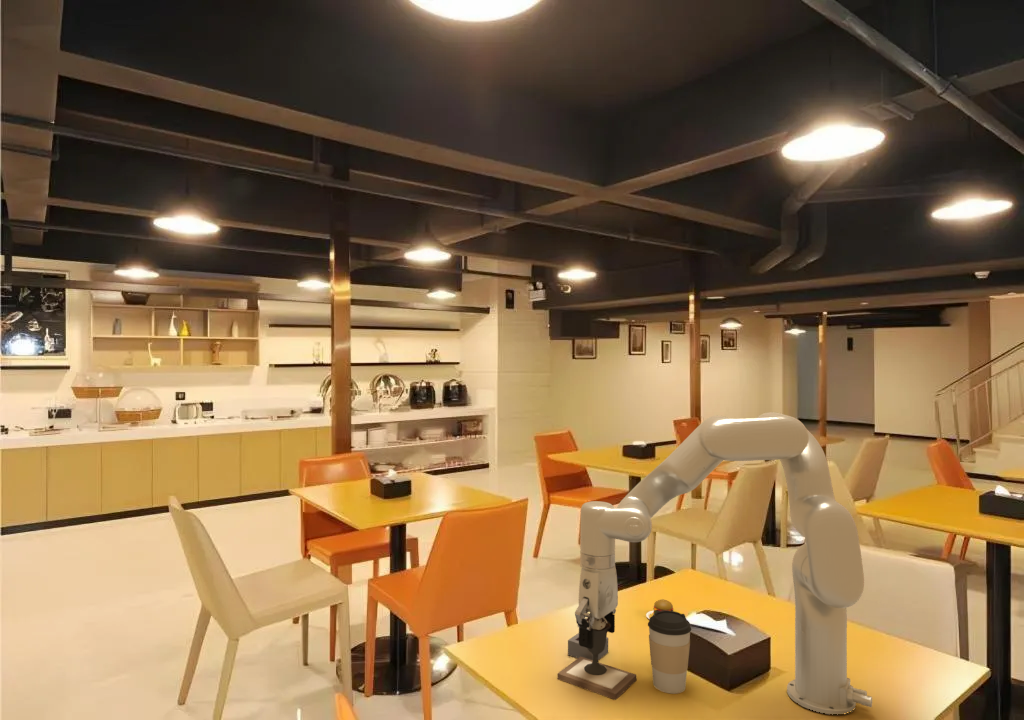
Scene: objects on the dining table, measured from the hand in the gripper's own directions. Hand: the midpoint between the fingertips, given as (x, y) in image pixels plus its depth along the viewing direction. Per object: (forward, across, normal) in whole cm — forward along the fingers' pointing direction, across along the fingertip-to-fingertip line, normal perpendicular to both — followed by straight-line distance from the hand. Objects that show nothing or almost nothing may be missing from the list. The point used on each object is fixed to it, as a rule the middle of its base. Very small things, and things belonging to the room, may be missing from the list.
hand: (597, 638), depth 133 cm
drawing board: (+9, 0, 0) cm, 9 cm away
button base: (+9, +10, +8) cm, 15 cm away
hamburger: (+10, +40, +2) cm, 42 cm away
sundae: (+8, +1, +1) cm, 8 cm away
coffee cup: (+9, +7, -13) cm, 18 cm away
